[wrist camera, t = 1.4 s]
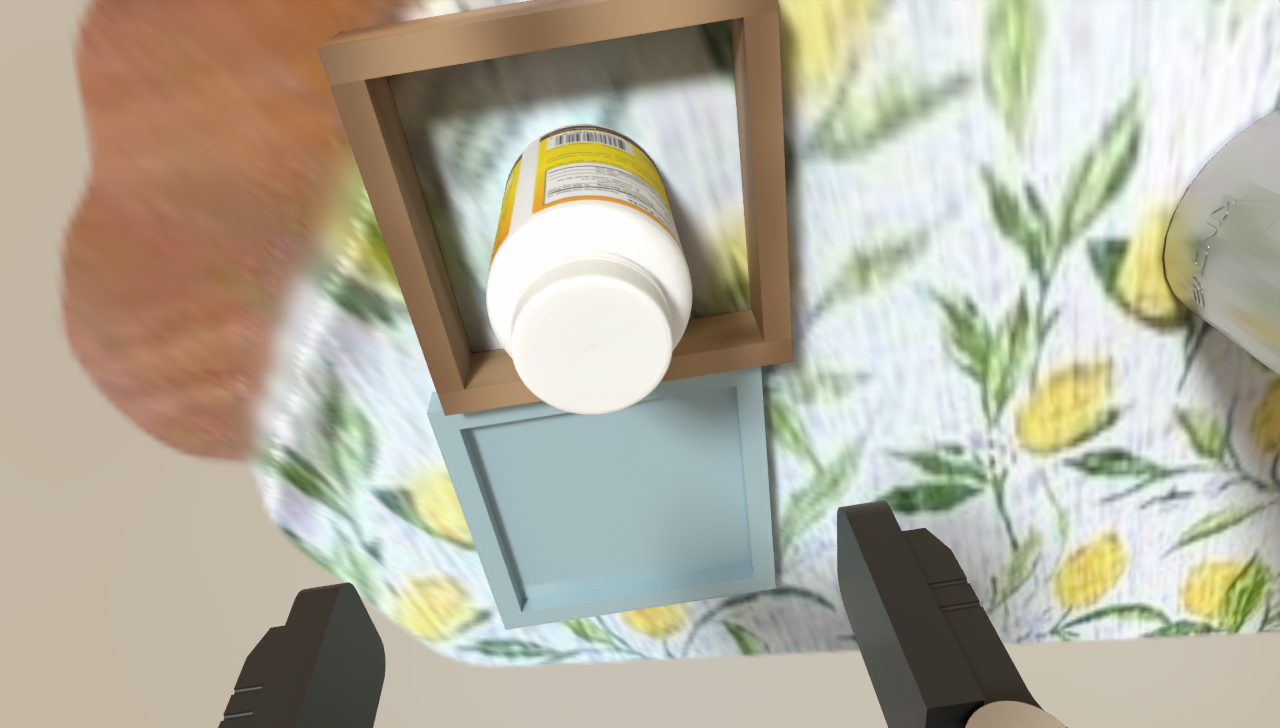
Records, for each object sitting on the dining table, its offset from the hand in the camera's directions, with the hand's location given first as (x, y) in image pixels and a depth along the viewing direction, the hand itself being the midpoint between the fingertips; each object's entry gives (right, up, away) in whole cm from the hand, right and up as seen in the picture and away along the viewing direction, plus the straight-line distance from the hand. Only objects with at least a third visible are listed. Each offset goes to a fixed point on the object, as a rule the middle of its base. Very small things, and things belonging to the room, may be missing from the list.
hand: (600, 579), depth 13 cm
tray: (0, -2, +22) cm, 22 cm away
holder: (-1, +9, +15) cm, 17 cm away
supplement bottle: (-1, +9, +15) cm, 18 cm away
